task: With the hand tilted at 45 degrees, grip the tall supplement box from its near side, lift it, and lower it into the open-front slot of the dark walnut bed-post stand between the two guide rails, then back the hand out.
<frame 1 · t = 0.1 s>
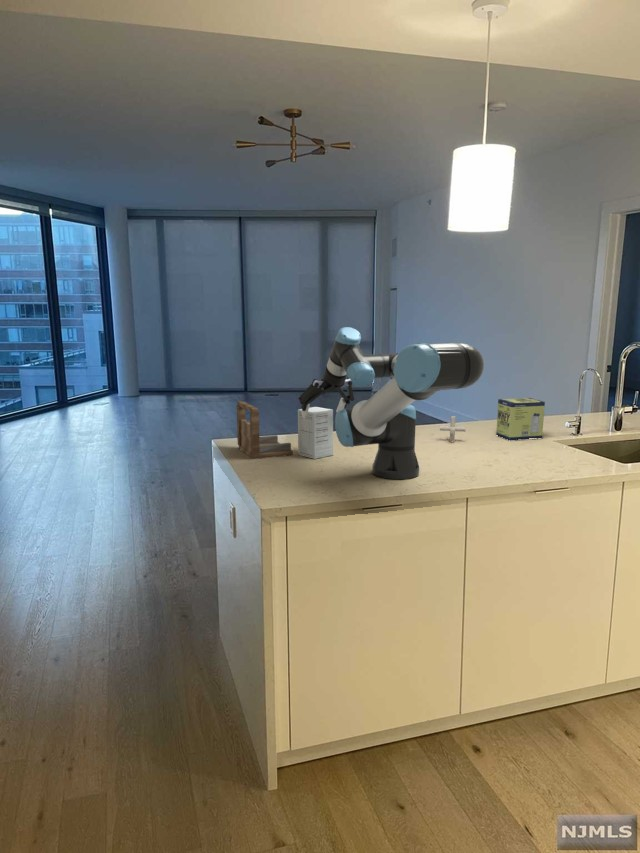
hand: (321, 415, 212), 15 cm above the countertop, tool tilted 35°, fingers open, 13 cm apart
pipe connector: (451, 441, 240), on the countertop
protein box: (518, 437, 248), on the countertop
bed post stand: (267, 451, 222), on the countertop
supplement box: (315, 455, 217), on the countertop
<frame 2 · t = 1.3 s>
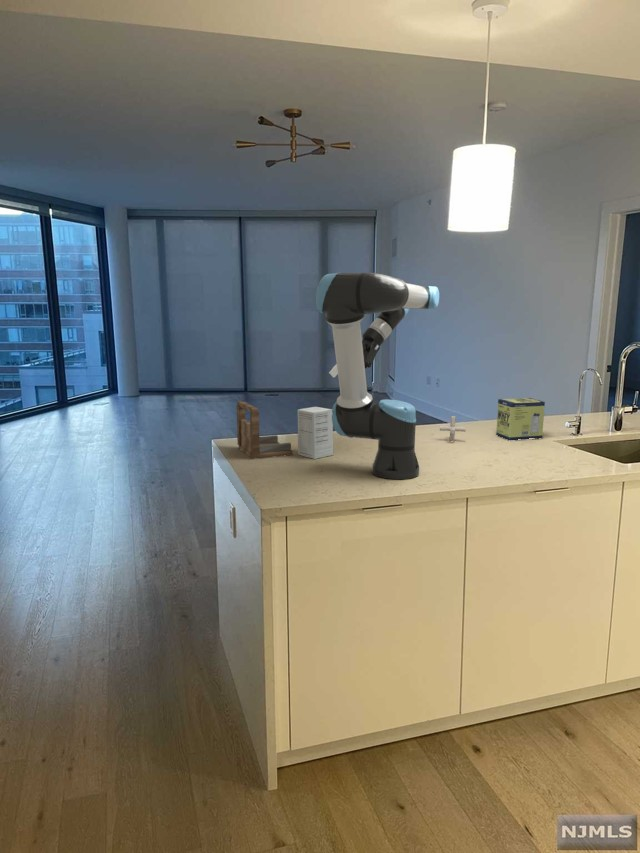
hand: (340, 377, 215), 28 cm above the countertop, tool tilted 45°, fingers open, 13 cm apart
nothing on the countertop moved.
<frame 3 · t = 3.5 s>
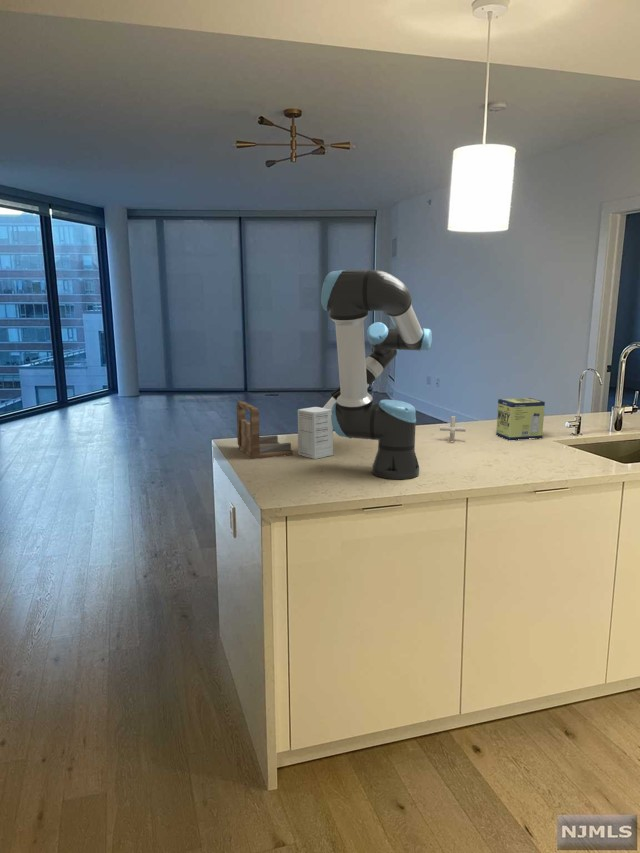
hand: (331, 415, 218), 14 cm above the countertop, tool tilted 45°, fingers open, 13 cm apart
nothing on the countertop moved.
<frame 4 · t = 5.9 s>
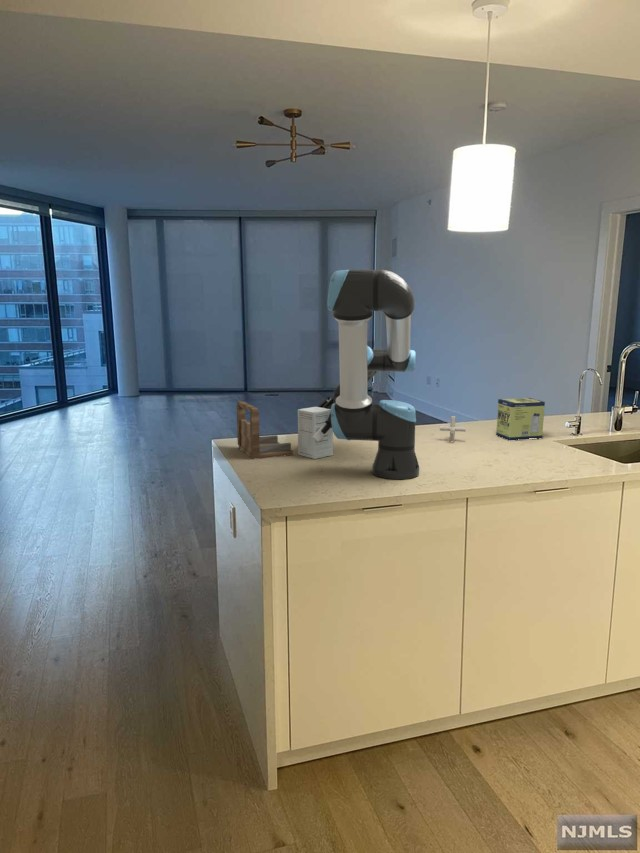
hand: (308, 435, 215), 7 cm above the countertop, tool tilted 45°, fingers closed on supplement box, 11 cm apart
supplement box: (315, 455, 217), on the countertop, touching gripper
everything else where it was.
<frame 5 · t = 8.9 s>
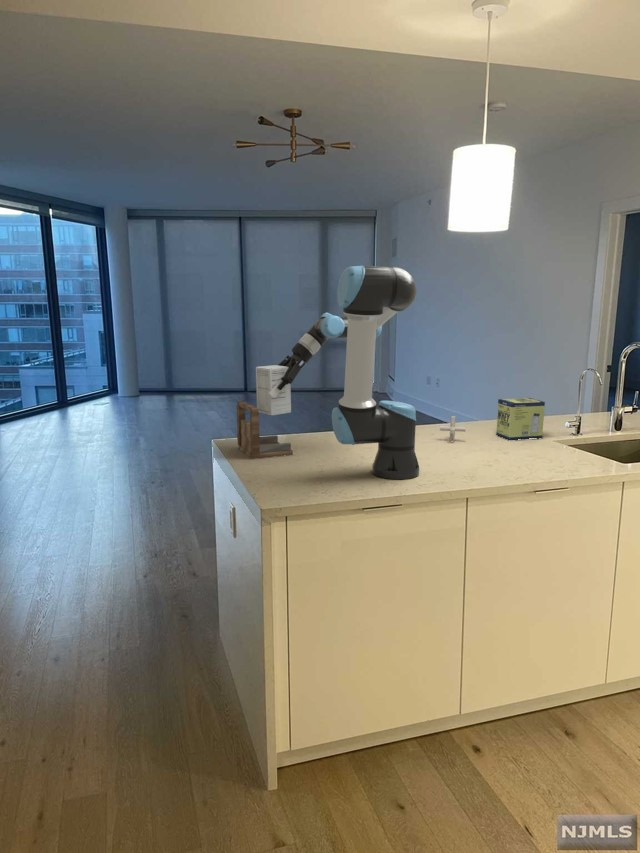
hand: (266, 393, 218), 22 cm above the countertop, tool tilted 45°, fingers closed on supplement box, 11 cm apart
supplement box: (274, 412, 220), point 14 cm above the countertop, touching gripper
everything else where it was.
when the fingers open (10 cm above the countertop, at t = 11.8 s): supplement box drops 1 cm, resting on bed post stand.
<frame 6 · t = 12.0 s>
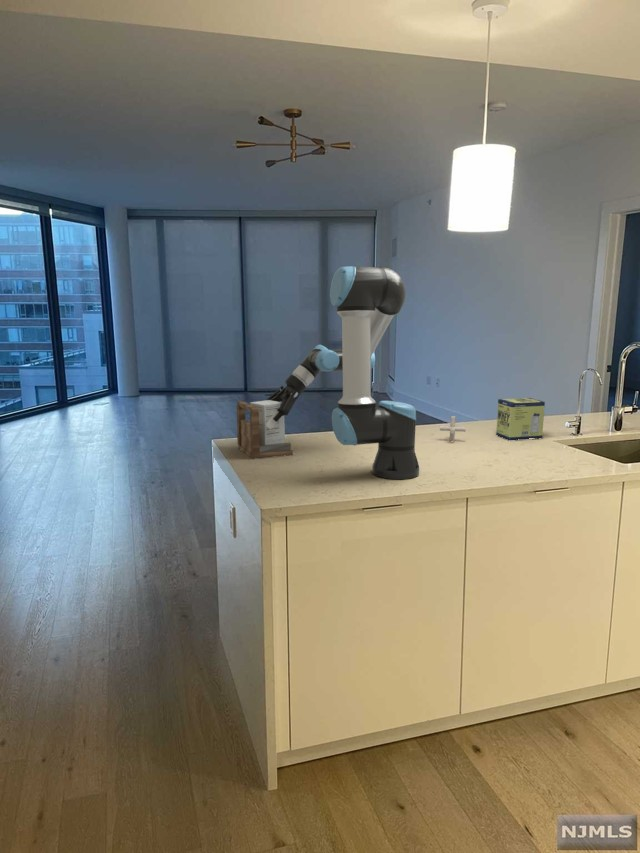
hand: (261, 423, 219), 11 cm above the countertop, tool tilted 45°, fingers open, 13 cm apart
supplement box: (267, 447, 222), point 1 cm above the countertop, touching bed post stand
everything else where it was.
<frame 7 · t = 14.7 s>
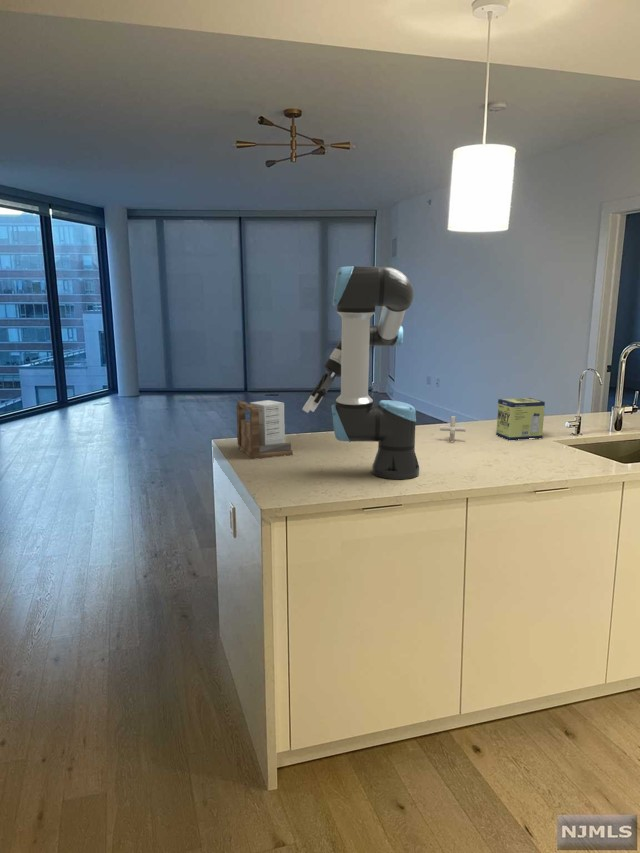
hand: (307, 410, 225), 14 cm above the countertop, tool tilted 35°, fingers open, 13 cm apart
nothing on the countertop moved.
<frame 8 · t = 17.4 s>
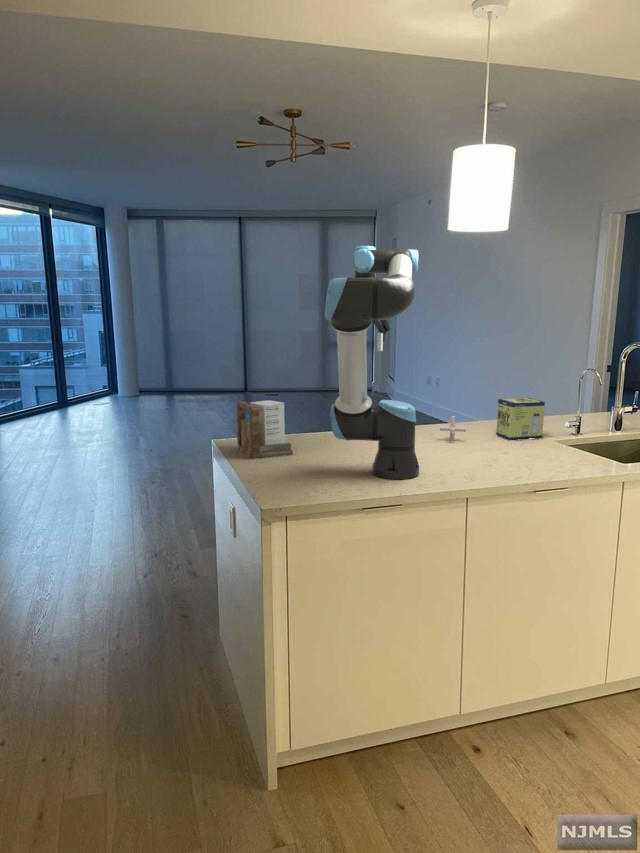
hand: (363, 351, 218), 37 cm above the countertop, tool pointing down, fingers open, 13 cm apart
nothing on the countertop moved.
at the end: supplement box 0.4 cm off-centre on the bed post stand, point 1.3 cm above the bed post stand's base; supplement box tilted 0°; the gripper is holding nothing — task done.
